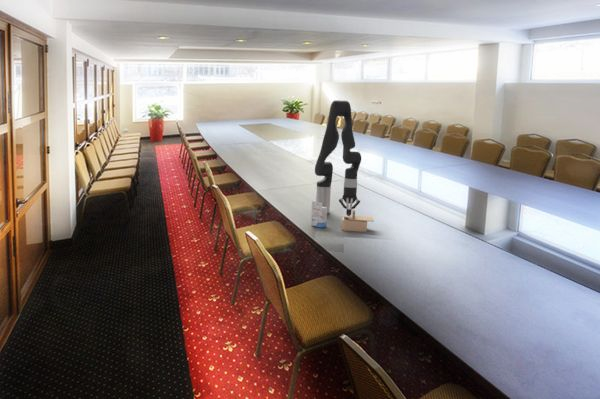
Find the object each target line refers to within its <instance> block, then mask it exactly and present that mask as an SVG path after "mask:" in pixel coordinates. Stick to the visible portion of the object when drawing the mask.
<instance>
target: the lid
mask: <svg viewBox="0 0 600 399" xmlns="http://www.w3.org/2000/svg"><path fill="white" fill-rule="evenodd" d="M347 217H348V220H354V221H367V222H371V223H372V222H374V221H375V220H374V218H373V216H365V215H364V216H361V215H356V210H355V209H352V213H351V215H350V216H347Z"/></svg>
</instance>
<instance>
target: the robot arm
mask: <svg viewBox="0 0 600 399" xmlns="http://www.w3.org/2000/svg"><path fill="white" fill-rule="evenodd" d="M328 113H329V114H328V119H327V122H326V124H327V125H326V128H325V132H324V135H323V138H322V144H321V147H320V150H319V154H318V157H317V159H316V161H315V162H316V163H315V167H314V174H315V176H316V177H317V176H318V177H323V178H322V179H320V180H319V181H316V193H315V195H316V197H315V202H319V203H322V207H327V214H329V213H330V211H331V209H330V208H331V192H332V191H331V189H332V181H333V172H334V168H333V167H334V166H333V164H332V162H331V161H326V159H327V158H328V157H329V155H331V154H332V153H333V152H334V151H335V150H336V148H337V147H338V144H339V139H340V138H341V142H342V143H341V144H342V146H343V147H342V161H343V162H344V163H345V164H347V165H350V166H349V167H346V168H345V171H344V182H343V195H342V197H341V198H339V199H338V202H339V203H340V205H341V206H342V207H343V208H344V209H345V210H346V211H345V212H346V215H347V216H346V217H348V216H352V211H353V210H355V209H356V208H357V206H358V205H359V204H360V203H361V200H360V199H358V197H357V194H358V193H357V190H358V173H359V172H358V170H359V168H360V166H361V163H362V155H361V153H360V152H359V151H351V150H352V149H354V148H355V147H356V142H355V141H356V140H355V137H354V132H353V122H352V121H353V118H352V108H351V103H350V102H349V101H348V100H336V99H334V100H333V101H332V102H331V104H330V107H329V112H328ZM338 117H342V118H343V119H344V126H343V128H342V131H341V135H339V131H338V128H337V119H338ZM340 136H341V137H340ZM353 204H354V205H353ZM315 205H319V204H315Z"/></svg>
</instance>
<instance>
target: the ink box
mask: <svg viewBox="0 0 600 399" xmlns="http://www.w3.org/2000/svg"><path fill="white" fill-rule="evenodd" d="M316 204H319V205H316ZM310 213H311V216H310V225H311V226H312V227H317V228H320V229H321V228H325V227H327V217H328V213H327V207H322V203H319V202H316V201H313V200H312V201H311V211H310Z"/></svg>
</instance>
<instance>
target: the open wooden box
mask: <svg viewBox="0 0 600 399" xmlns="http://www.w3.org/2000/svg"><path fill="white" fill-rule="evenodd" d="M341 218H342V223H341V231H342V232H343V231H344V232H345V231H346V232H348V231H349V232H359V233H366V232H367V231H368V229H367V228H368V221H354V220H348V216H342V217H341Z"/></svg>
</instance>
